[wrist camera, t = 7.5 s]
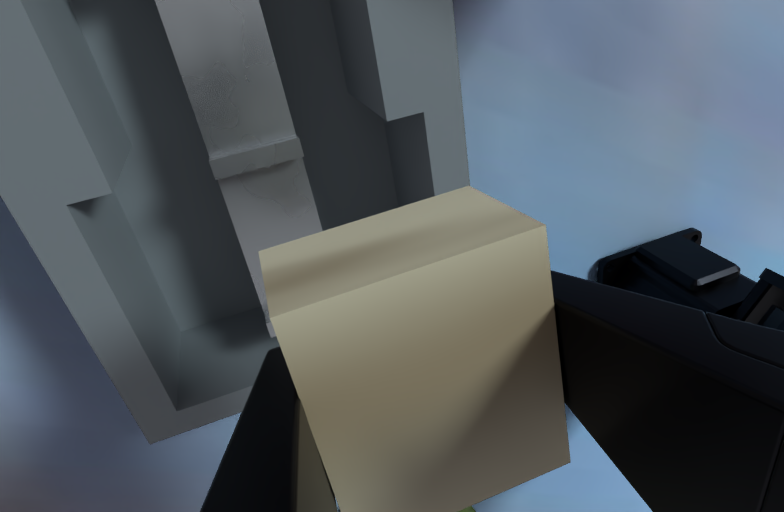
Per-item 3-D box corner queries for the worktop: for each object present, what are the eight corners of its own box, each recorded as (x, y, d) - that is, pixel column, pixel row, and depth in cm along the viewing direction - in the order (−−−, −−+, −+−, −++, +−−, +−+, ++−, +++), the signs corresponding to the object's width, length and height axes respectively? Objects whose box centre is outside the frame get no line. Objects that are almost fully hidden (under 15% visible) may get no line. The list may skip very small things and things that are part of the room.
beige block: (501, 381, 12) (570, 462, 9) (328, 448, 11) (357, 555, 8) (468, 185, 10) (546, 224, 7) (257, 250, 9) (269, 317, 7)
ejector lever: (343, 293, 20) (364, 334, 17) (262, 319, 20) (269, 366, 17) (170, -341, 13) (153, -464, 10) (32, -331, 12) (-30, -460, 9)
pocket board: (433, 266, 25) (483, 326, 21) (159, 355, 23) (149, 444, 18) (317, -537, 13) (377, -798, 9) (-303, -536, 10) (-661, -905, 6)
